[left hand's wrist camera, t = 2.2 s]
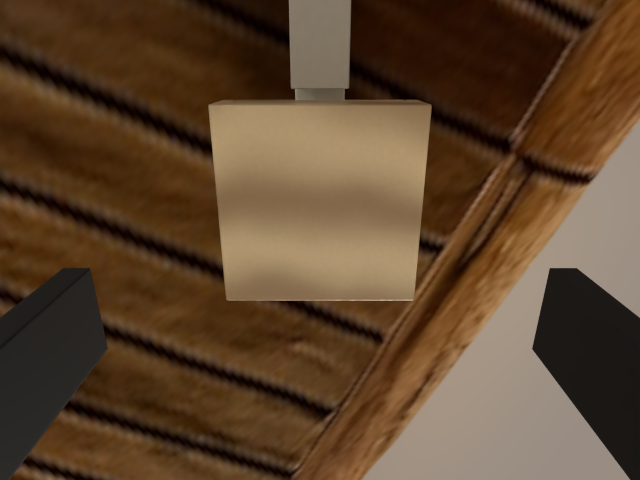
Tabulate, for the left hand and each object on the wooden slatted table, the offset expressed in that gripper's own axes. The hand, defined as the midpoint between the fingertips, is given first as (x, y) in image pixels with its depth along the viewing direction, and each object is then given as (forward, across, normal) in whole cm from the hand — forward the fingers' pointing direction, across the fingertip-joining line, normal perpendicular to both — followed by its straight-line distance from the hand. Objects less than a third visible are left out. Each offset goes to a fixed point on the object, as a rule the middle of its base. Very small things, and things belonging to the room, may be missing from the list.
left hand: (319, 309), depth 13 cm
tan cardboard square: (+12, 0, 0) cm, 12 cm away
